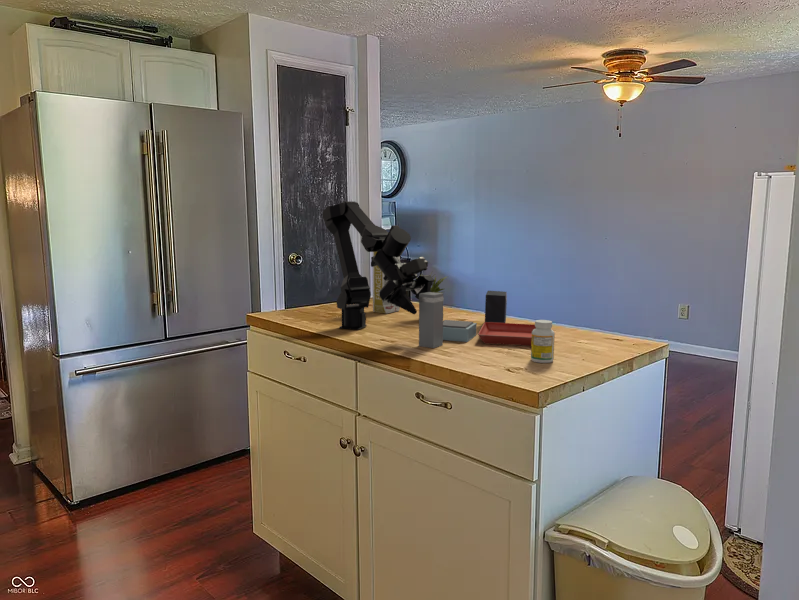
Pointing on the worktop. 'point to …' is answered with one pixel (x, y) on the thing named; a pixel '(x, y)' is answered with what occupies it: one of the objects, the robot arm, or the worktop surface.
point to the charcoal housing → (431, 319)
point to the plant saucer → (506, 333)
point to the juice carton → (378, 284)
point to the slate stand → (459, 330)
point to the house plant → (436, 285)
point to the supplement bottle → (542, 342)
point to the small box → (496, 306)
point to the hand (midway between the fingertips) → (425, 311)
